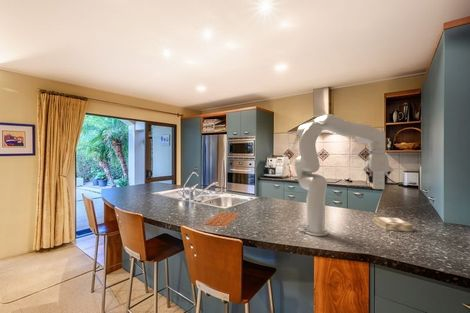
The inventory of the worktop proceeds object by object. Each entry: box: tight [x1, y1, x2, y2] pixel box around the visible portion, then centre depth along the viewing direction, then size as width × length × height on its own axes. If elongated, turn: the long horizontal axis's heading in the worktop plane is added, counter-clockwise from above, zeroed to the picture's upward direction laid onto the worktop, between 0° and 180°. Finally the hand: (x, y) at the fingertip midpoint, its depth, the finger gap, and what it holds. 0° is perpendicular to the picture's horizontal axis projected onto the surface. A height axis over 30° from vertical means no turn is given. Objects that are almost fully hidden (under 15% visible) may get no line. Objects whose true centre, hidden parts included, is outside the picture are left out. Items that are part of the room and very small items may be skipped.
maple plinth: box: [373, 216, 414, 232], centre depth 130 cm, size 14×14×4 cm
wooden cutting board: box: [203, 211, 240, 228], centre depth 146 cm, size 14×30×1 cm, turn 165°
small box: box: [371, 171, 386, 190], centre depth 129 cm, size 8×6×10 cm
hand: (377, 182), depth 129 cm, fingers closed on small box, 6 cm apart
